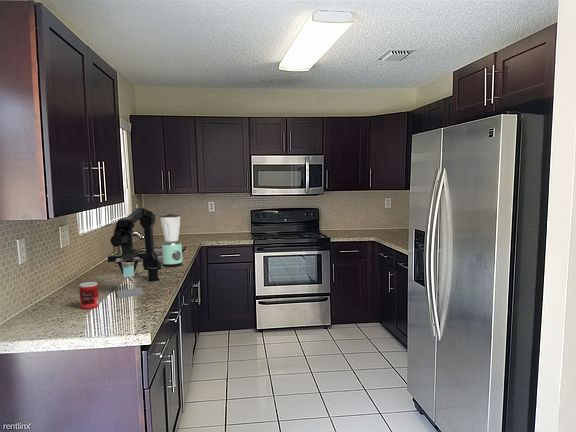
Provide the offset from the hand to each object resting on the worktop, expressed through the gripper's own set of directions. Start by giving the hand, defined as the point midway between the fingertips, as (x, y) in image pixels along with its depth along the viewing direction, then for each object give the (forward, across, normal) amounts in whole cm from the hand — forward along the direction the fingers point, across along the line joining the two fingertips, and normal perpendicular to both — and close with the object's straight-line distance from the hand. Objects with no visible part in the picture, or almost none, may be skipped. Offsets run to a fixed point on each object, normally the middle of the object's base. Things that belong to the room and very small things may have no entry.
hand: (128, 273), depth 209 cm
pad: (+11, 0, 0) cm, 11 cm away
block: (+1, 0, 0) cm, 1 cm away
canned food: (+11, -18, -15) cm, 26 cm away
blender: (+11, +30, +62) cm, 70 cm away
